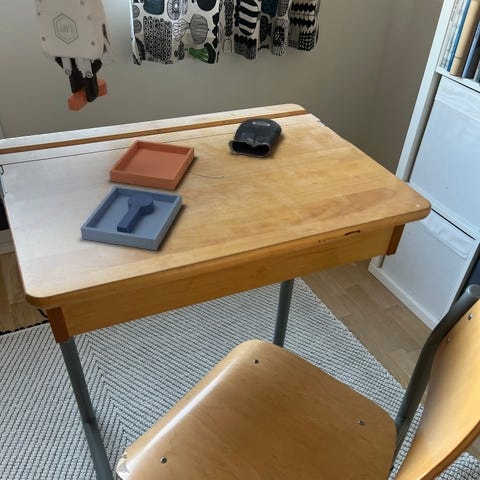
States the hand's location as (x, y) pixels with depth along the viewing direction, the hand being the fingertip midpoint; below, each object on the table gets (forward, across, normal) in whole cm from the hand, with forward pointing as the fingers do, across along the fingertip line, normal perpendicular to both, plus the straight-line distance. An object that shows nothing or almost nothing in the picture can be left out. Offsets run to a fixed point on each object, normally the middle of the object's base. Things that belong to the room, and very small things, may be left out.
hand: (86, 98), depth 88 cm
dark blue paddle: (+13, +12, -14) cm, 23 cm away
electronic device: (+15, +26, +23) cm, 38 cm away
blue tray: (+14, +12, -14) cm, 23 cm away
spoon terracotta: (0, 0, 0) cm, 1 cm away
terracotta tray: (+14, +9, +5) cm, 17 cm away
